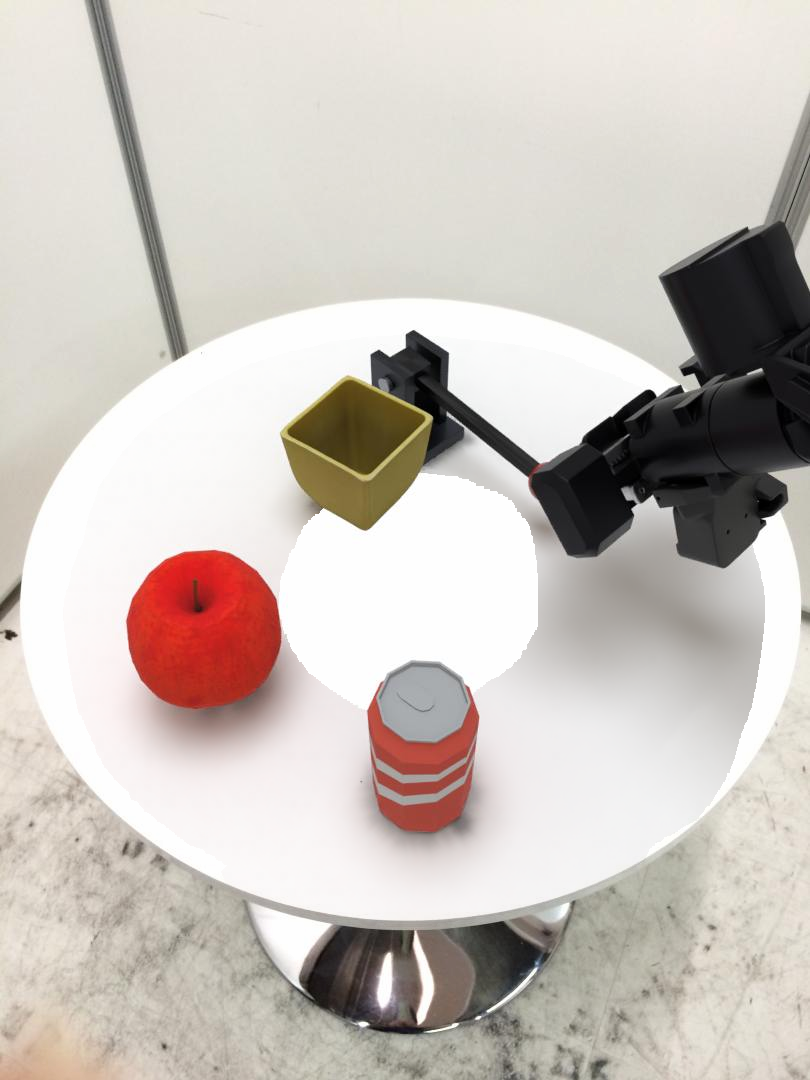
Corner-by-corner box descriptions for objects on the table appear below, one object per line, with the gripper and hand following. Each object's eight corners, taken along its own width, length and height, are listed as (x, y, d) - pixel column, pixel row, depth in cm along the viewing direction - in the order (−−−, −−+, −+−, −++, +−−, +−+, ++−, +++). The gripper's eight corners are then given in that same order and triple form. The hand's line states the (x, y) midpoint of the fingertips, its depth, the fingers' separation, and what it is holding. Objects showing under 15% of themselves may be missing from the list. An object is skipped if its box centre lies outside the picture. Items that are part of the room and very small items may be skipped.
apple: (186, 771, 58) (142, 677, 49) (130, 665, 63) (82, 562, 54) (315, 699, 62) (298, 598, 52) (252, 604, 67) (227, 497, 58)
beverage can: (413, 729, 60) (413, 633, 51) (487, 785, 57) (502, 694, 48) (354, 794, 57) (343, 704, 48) (430, 856, 54) (434, 773, 45)
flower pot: (434, 493, 74) (436, 415, 67) (372, 558, 70) (367, 481, 63) (353, 451, 78) (347, 372, 71) (289, 511, 73) (276, 432, 66)
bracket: (464, 437, 79) (469, 360, 72) (416, 469, 76) (416, 392, 69) (404, 395, 82) (403, 317, 76) (356, 424, 80) (351, 346, 73)
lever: (573, 497, 69) (582, 471, 66) (546, 518, 68) (554, 492, 65) (411, 367, 76) (413, 339, 74) (384, 383, 75) (385, 355, 72)
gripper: (707, 632, 48) (537, 625, 62) (875, 468, 56) (691, 494, 70) (619, 458, 46) (462, 491, 60) (807, 313, 54) (631, 371, 68)
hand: (571, 464), depth 64 cm, fingers closed
